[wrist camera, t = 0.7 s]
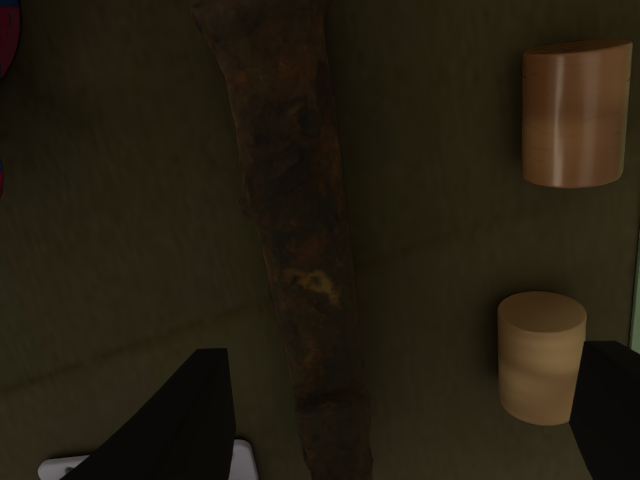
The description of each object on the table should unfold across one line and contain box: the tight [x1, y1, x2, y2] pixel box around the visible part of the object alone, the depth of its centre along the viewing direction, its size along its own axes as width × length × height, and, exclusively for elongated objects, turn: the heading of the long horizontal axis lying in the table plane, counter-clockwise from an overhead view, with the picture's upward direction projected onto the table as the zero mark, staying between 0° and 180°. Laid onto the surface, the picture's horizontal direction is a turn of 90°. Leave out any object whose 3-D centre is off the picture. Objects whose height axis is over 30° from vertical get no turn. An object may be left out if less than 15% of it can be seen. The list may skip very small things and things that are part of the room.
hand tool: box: [190, 0, 373, 480], centre depth 19 cm, size 19×4×5 cm, turn 6°
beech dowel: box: [497, 291, 587, 426], centre depth 21 cm, size 3×4×3 cm
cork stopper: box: [522, 39, 633, 188], centre depth 17 cm, size 3×4×3 cm
